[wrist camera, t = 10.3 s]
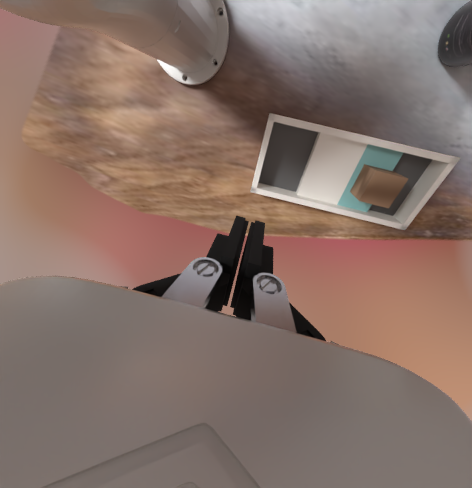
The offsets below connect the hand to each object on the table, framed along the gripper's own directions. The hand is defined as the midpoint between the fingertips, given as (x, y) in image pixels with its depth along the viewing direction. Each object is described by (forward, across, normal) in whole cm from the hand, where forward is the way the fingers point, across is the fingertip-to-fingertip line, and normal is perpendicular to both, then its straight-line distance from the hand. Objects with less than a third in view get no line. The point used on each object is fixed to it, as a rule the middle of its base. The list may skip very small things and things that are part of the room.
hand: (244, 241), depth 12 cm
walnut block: (+30, -20, 0) cm, 36 cm away
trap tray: (+32, -14, 0) cm, 35 cm away
